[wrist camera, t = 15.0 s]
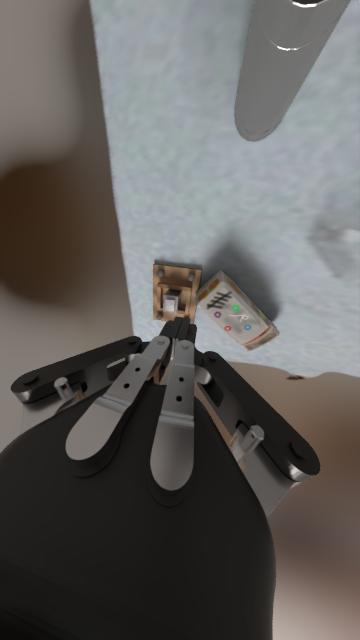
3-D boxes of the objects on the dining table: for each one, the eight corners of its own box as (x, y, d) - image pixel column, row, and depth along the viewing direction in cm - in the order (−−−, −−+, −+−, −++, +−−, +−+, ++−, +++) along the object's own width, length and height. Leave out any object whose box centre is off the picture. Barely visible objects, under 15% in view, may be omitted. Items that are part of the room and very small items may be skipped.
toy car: (245, 342, 48) (253, 364, 39) (193, 293, 43) (189, 305, 34) (274, 324, 43) (291, 344, 34) (220, 267, 38) (224, 272, 29)
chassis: (154, 264, 41) (150, 265, 38) (201, 269, 39) (201, 271, 36) (154, 317, 49) (151, 321, 47) (193, 324, 48) (192, 328, 45)
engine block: (169, 288, 42) (162, 295, 36) (182, 290, 42) (177, 297, 36) (168, 304, 45) (162, 312, 39) (180, 305, 44) (176, 314, 38)
